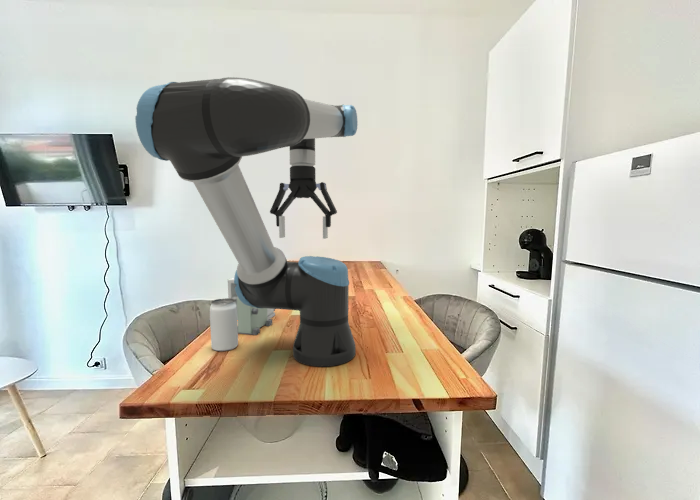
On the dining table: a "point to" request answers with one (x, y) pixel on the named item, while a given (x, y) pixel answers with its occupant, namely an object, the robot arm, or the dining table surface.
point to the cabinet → (234, 296)
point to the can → (223, 324)
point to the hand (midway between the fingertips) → (303, 238)
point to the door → (250, 317)
